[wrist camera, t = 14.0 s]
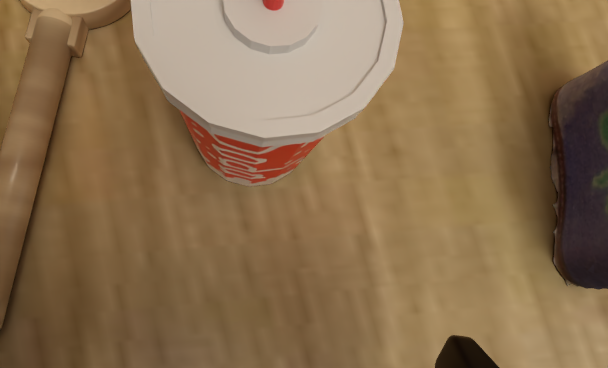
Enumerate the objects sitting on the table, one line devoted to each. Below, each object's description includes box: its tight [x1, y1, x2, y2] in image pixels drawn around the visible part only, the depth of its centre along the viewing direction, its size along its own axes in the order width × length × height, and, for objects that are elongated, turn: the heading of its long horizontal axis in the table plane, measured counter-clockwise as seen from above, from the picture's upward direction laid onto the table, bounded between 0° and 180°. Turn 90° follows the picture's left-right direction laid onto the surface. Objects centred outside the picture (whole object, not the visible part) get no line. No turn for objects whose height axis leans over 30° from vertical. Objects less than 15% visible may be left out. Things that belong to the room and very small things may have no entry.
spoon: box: [0, 0, 131, 330], centre depth 17 cm, size 17×5×1 cm, turn 173°
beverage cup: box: [131, 0, 403, 187], centre depth 12 cm, size 6×6×14 cm
